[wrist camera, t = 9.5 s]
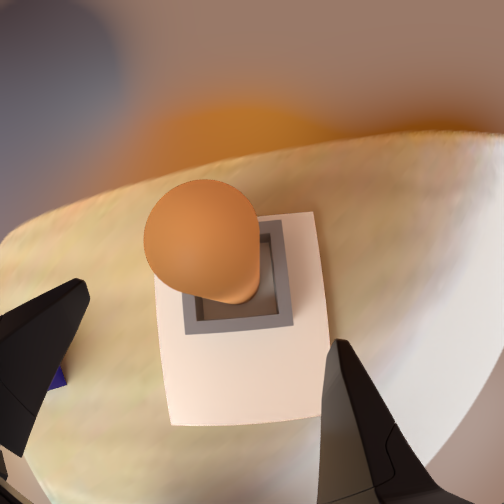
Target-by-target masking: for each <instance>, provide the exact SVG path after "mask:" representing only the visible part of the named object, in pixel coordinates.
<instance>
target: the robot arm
mask: <svg viewBox="0 0 504 504" xmlns="http://www.w3.org/2000/svg"><path fill="white" fill-rule="evenodd" d="M89 302H90V295H89V292H88V289H87V285H86V282H85V281H84V280H81V279H78V278H74V279H72V280H70V281H68V282H66V283H64V284H62V285H60V286H58V287H56V288H54V289H52V290H50V291H48V292H46V293H44V294H42V295H40V296H38V297H36V298H34V299H32V300H30V301H28V302H26V303H24V304H22V305H20V306H18V307H16V308H14V309H13V310H11V311H9V312H7V313H5V314H4V315H1V316H0V446H1V445H2V446H4V447H5V448H6V449H8V450H10V451H11V452H13V453H14V454H16V455H17V456H19V457H22V456H23V453H24V450H25V447H26V444H27V441H28V438H29V436H30V433H31V430H32V428H33V425H34V422H35V420H36V417H37V415H38V412H39V410H40V407H41V405H42V402H43V400H44V398H45V396H46V393H47V391H48V389H49V387H50V384H51V382H52V380H53V378H54V376H55V374H56V372H57V370H58V367H59V365H60V363H61V361H62V359H63V357H64V355H65V353H66V351H67V350H68V348H69V346H70V344H71V342H72V340H73V338H74V336H75V334H76V332H77V330H78V327H79V325H80V322H81V320H82V318H83V316H84V313H85V311H86V309H87V307H88V304H89ZM7 477H8V474H7V470H6V467H5V463H4V459H3V454H2V451H1V450H0V504H33V503H32V502H31V501H29V500H28V499H27V498H25V497H24V496H23V495H21V494H20V493H19V492H18V491H17V490H15V489H14V488H13V487H12V486H10V485H9V484H8V483H7V482H6V480H7ZM317 504H474V503H472V502H469V501H467V500H465V499H462V498H460V497H458V496H456V495H453V494H451V493H449V492H447V491H445V490H444V489H442V488H441V487H440V486H438V485H437V484H436V483H435V482H434V480H433V479H432V478H431V476H430V475H429V473H428V472H427V470H426V469H425V468H424V466H423V465H422V463H421V462H420V460H419V459H418V458H417V456H416V455H415V453H414V452H413V450H412V449H411V447H410V446H409V444H408V443H407V441H406V439H405V437H404V436H403V434H402V432H401V431H400V429H399V427H398V425H397V424H396V423H395V420H394V418H393V416H392V415H391V413H390V411H389V409H388V408H387V406H386V404H385V402H384V401H383V399H382V397H381V395H380V394H379V392H378V390H377V389H376V387H375V385H374V383H373V382H372V380H371V378H370V377H369V375H368V373H367V371H366V370H365V368H364V366H363V365H362V363H361V361H360V360H359V358H358V356H357V355H356V353H355V351H354V350H353V348H352V346H351V345H350V343H349V342H348V341H347V340H344V339H335V340H334V342H333V344H332V346H331V348H330V350H329V352H328V354H327V357H326V364H325V374H324V382H323V390H322V399H321V442H320V465H319V482H318V495H317ZM502 504H504V503H502Z"/></svg>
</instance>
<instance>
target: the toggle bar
mask: <svg viewBox="0 0 504 504" xmlns="http://www.w3.org/2000/svg"><path fill="white" fill-rule="evenodd" d="M144 250H145V255H146V258H147V261H148V263H149V265H150V267H151V269H152V270H153V272H154V273H155V275H156V276H157V277H158V278H159V279H160V280H161V281H162V282H163V283H164V284H166V285H167V286H169V287H170V288H172V289H174V290H176V291H179V292H182V293H186V294H190V295H194V296H198V297H202V298H206V299H211V300H215V301H219V302H224V303H228V304H233V305H240V304H244V303H247V302H248V301H250V300H251V299H252V298H253V297H254V296H255V295H256V293H257V292H258V289H259V285H260V229H259V222H258V219H257V215H256V213H255V210H254V208H253V207H252V205H251V203H250V202H249V201H248V199H247V198H246V197H245V196H244V195H243V194H242V193H241V192H240V191H238V190H237V189H235V188H234V187H232V186H230V185H228V184H226V183H223V182H220V181H215V180H207V179H206V180H194V181H190V182H186V183H184V184H181V185H179V186H177V187H175V188H173V189H172V190H170V191H169V192H168V193H166V194H165V195H164V196H163V197H162V198H161V199H160V200H159V201H158V202H157V204H156V205H155V206H154V208H153V209H152V211H151V213H150V215H149V217H148V220H147V222H146V226H145V230H144Z"/></svg>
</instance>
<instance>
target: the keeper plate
mask: <svg viewBox="0 0 504 504" xmlns="http://www.w3.org/2000/svg"><path fill="white" fill-rule="evenodd" d="M257 219H258V222H259V229H260V285H259V289H258V292H257V293H256V295H255V296H254V297H253V298H252V299H251V300H250V301H248V302H247V303H244V304H240V305H233V304H228V303H224V302H219V301H215V300H211V299H206V298H202V297H198V296H194V295H190V294H186V293H182V292H179V291H176V290H174V289H172V288H170V287H169V286H167V285H166V284H164V283H163V282H162V281H161V280H160V279H159V278H158V277H157V276H156V275H155V273H154V278H155V297H156V311H157V324H158V334H159V344H160V353H161V362H162V370H163V377H164V384H165V391H166V397H167V404H168V410H169V415H170V421H171V425H182V426H224V425H246V424H259V423H270V422H280V421H288V420H296V419H303V418H309V417H315V416H321V399H322V390H323V382H324V374H325V364H326V357H327V354H328V352H329V350H330V339H329V328H328V318H327V308H326V299H325V291H324V283H323V275H322V267H321V260H320V253H319V246H318V239H317V233H316V227H315V220H314V214H313V212H301V213H289V214H278V215H268V216H257Z"/></svg>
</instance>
